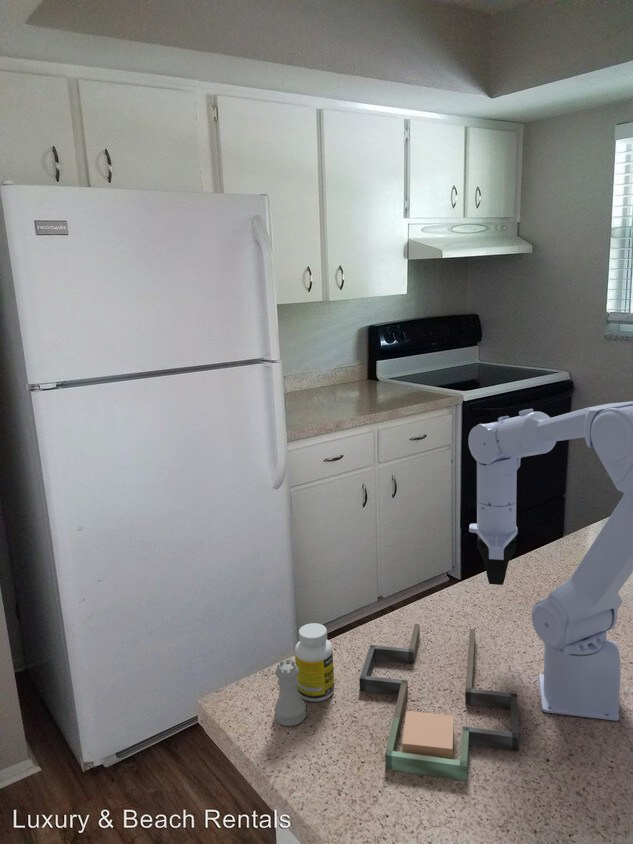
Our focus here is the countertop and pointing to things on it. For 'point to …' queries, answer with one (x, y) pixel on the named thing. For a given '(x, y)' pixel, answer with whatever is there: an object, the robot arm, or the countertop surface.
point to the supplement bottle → (314, 663)
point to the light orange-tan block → (428, 734)
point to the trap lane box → (469, 734)
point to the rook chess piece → (289, 696)
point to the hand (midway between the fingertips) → (496, 582)
